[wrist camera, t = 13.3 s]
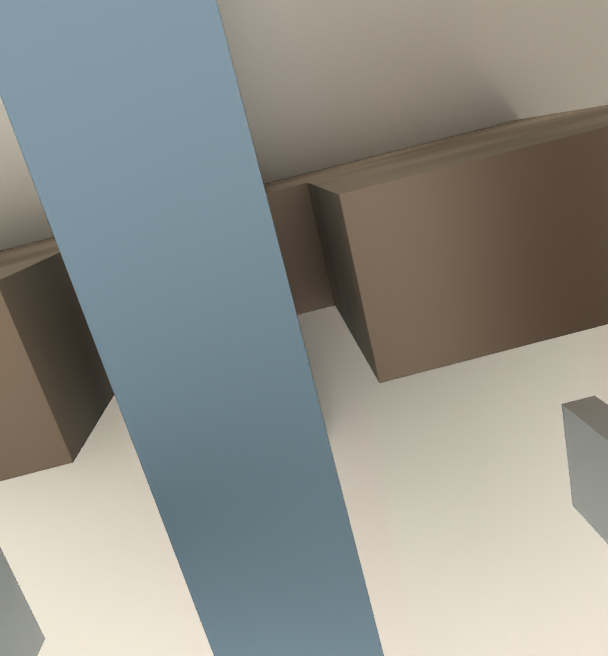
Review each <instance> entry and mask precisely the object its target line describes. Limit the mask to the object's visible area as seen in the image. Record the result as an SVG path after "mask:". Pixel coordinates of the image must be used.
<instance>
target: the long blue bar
mask: <svg viewBox="0 0 608 656" xmlns="http://www.w3.org/2000/svg"><path fill="white" fill-rule="evenodd" d="M0 96H1V98H2V101H3V104H4V106H5V109H6V111H7V114H8V117H9V119H10V122H11V125H12V127H13V130H14V132H15V135H16V138H17V140H18V143H19V146H20V148H21V151H22V153H23V156H24V159H25V161H26V164H27V166H28V169H29V172H30V174H31V177H32V180H33V182H34V185H35V187H36V190H37V193H38V195H39V198H40V201H41V203H42V206H43V208H44V211H45V214H46V216H47V219H48V222H49V224H50V227H51V229H52V232H53V235H54V237H55V240H56V243H57V245H58V248H59V250H60V253H61V256H62V258H63V261H64V264H65V266H66V269H67V271H68V274H69V277H70V279H71V282H72V284H73V287H74V290H75V292H76V295H77V298H78V300H79V303H80V305H81V308H82V311H83V313H84V316H85V319H86V321H87V324H88V326H89V329H90V332H91V334H92V337H93V340H94V342H95V345H96V347H97V350H98V353H99V355H100V358H101V361H102V363H103V366H104V368H105V371H106V374H107V376H108V379H109V381H110V384H111V387H112V389H113V392H114V395H115V397H116V400H117V402H118V405H119V408H120V410H121V413H122V416H123V418H124V421H125V423H126V426H127V429H128V431H129V434H130V437H131V439H132V442H133V444H134V447H135V450H136V452H137V455H138V458H139V460H140V463H141V465H142V468H143V471H144V473H145V476H146V479H147V481H148V484H149V486H150V489H151V492H152V494H153V497H154V499H155V502H156V505H157V507H158V510H159V513H160V515H161V518H162V520H163V523H164V526H165V528H166V531H167V534H168V536H169V539H170V541H171V544H172V547H173V549H174V552H175V555H176V557H177V560H178V562H179V565H180V568H181V570H182V573H183V576H184V578H185V581H186V583H187V586H188V589H189V591H190V594H191V597H192V599H193V602H194V604H195V607H196V610H197V612H198V615H199V617H200V620H201V623H202V625H203V628H204V631H205V633H206V636H207V638H208V641H209V644H210V646H211V649H212V652H213V654H214V656H384V654H383V650H382V646H381V643H380V639H379V635H378V631H377V627H376V623H375V619H374V615H373V611H372V607H371V603H370V600H369V596H368V592H367V588H366V584H365V580H364V576H363V572H362V568H361V564H360V560H359V556H358V553H357V549H356V545H355V541H354V537H353V533H352V529H351V525H350V521H349V517H348V513H347V510H346V506H345V502H344V498H343V494H342V490H341V486H340V482H339V478H338V474H337V470H336V467H335V463H334V459H333V455H332V451H331V447H330V443H329V439H328V435H327V431H326V427H325V424H324V420H323V416H322V412H321V408H320V404H319V400H318V396H317V392H316V388H315V384H314V381H313V377H312V373H311V369H310V365H309V361H308V357H307V353H306V349H305V345H304V341H303V337H302V334H301V330H300V326H299V322H298V318H297V314H296V310H295V306H294V302H293V298H292V294H291V291H290V287H289V283H288V279H287V275H286V271H285V267H284V263H283V259H282V255H281V251H280V248H279V244H278V240H277V236H276V232H275V228H274V224H273V220H272V216H271V212H270V208H269V205H268V201H267V197H266V193H265V189H264V185H263V181H262V177H261V173H260V169H259V165H258V162H257V158H256V154H255V150H254V146H253V142H252V138H251V134H250V130H249V126H248V122H247V118H246V115H245V111H244V107H243V103H242V99H241V95H240V91H239V87H238V83H237V79H236V75H235V72H234V68H233V64H232V60H231V56H230V52H229V48H228V44H227V40H226V36H225V32H224V29H223V25H222V21H221V17H220V13H219V9H218V5H217V1H216V0H0Z"/></svg>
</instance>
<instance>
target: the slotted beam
mask: <svg viewBox="0 0 608 656" xmlns="http://www.w3.org/2000/svg"><path fill="white" fill-rule="evenodd" d="M263 185H264V189H265V193H266V197H267V201H268V205H269V208H270V212H271V216H272V220H273V224H274V228H275V232H276V236H277V240H278V244H279V248H280V251H281V255H282V259H283V263H284V267H285V271H286V275H287V279H288V283H289V287H290V291H291V294H292V298H293V302H294V306H295V310H296V314H297V315H298V314H302V313H306V312H310V311H314V310H317V309H321V308H325V307H329V306H333V305H336V307H337V309H338V311H339V312H340V314H341V316H342V318H343V320H344V321H345V323H346V325H347V327H348V328H349V330H350V332H351V334H352V335H353V337H354V339H355V341H356V342H357V344H358V346H359V348H360V349H361V351H362V353H363V355H364V356H365V358H366V360H367V362H368V364H369V365H370V367H371V369H372V371H373V372H374V374H375V376H376V378H377V379H378V381H379V383H382V382H385V381H389V380H393V379H397V378H401V377H405V376H409V375H412V374H416V373H420V372H424V371H428V370H432V369H436V368H440V367H443V366H447V365H451V364H455V363H459V362H463V361H467V360H470V359H474V358H478V357H482V356H486V355H490V354H494V353H498V352H501V351H505V350H509V349H513V348H517V347H521V346H525V345H528V344H532V343H536V342H540V341H544V340H548V339H552V338H556V337H559V336H563V335H567V334H571V333H575V332H579V331H583V330H586V329H590V328H594V327H598V326H602V325H606V324H608V105H605V106H599V107H593V108H587V109H581V110H575V111H569V112H563V113H557V114H551V115H544V116H538V117H532V118H526V119H520V120H516V121H512V122H508V123H504V124H500V125H496V126H493V127H489V128H485V129H481V130H477V131H473V132H469V133H465V134H461V135H457V136H453V137H449V138H445V139H441V140H437V141H433V142H429V143H425V144H421V145H417V146H414V147H410V148H406V149H402V150H398V151H394V152H390V153H386V154H382V155H378V156H374V157H370V158H366V159H362V160H358V161H354V162H350V163H346V164H342V165H339V166H335V167H331V168H327V169H323V170H319V171H315V172H311V173H307V174H303V175H299V176H295V177H291V178H287V179H283V180H279V181H275V182H271V183H267V184H263ZM113 396H114V392H113V389H112V387H111V384H110V381H109V379H108V376H107V374H106V371H105V368H104V366H103V363H102V361H101V358H100V355H99V353H98V350H97V347H96V345H95V342H94V340H93V337H92V334H91V332H90V329H89V326H88V324H87V321H86V319H85V316H84V313H83V311H82V308H81V305H80V303H79V300H78V298H77V295H76V292H75V290H74V287H73V284H72V282H71V279H70V277H69V274H68V271H67V269H66V266H65V264H64V261H63V258H62V256H61V253H60V250H59V248H58V245H57V243H56V240H55V237H54V238H50V239H46V240H42V241H38V242H34V243H30V244H26V245H23V246H19V247H15V248H11V249H7V250H3V251H0V481H3V480H6V479H10V478H14V477H18V476H22V475H26V474H30V473H34V472H37V471H41V470H45V469H49V468H53V467H57V466H61V465H64V464H68V463H72V462H74V460H75V458H76V457H77V455H78V453H79V452H80V450H81V448H82V447H83V445H84V443H85V442H86V440H87V438H88V437H89V435H90V433H91V432H92V430H93V429H94V427H95V425H96V424H97V422H98V420H99V419H100V417H101V415H102V414H103V412H104V410H105V409H106V407H107V405H108V404H109V402H110V401H111V399H112V397H113Z"/></svg>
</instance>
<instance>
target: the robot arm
mask: <svg viewBox="0 0 608 656" xmlns="http://www.w3.org/2000/svg"><path fill="white" fill-rule="evenodd" d="M562 411H563V421H564V430H565V439H566V448H567V457H568V467H569V476H570V485H571V494H572V503H573V506H574V507H575V508H576V510H577V511H578V512H579V513H580V514H581V515H582V516H583V517H584V518H585V519H586V521H587V522H588V523H589V524H590V525H591V526H592V527H593V528H594V529H595V530H596V531H597V533H598V534H599V535H600V536H601V537H602V538H603V539H604V540H605V541H606V542H607V544H608V405H607V404H606V403H604V402H603V401H601V400H600V399H598V398H597V397H596V396H592V397H588V398H584V399H580V400H576V401H572V402H568V403H564V404H562ZM44 640H45V638H44V636H43V633H42V631H41V629H40V627H39V625H38V623H37V621H36V619H35V617H34V615H33V613H32V611H31V609H30V607H29V605H28V603H27V601H26V599H25V597H24V595H23V593H22V591H21V589H20V587H19V585H18V582H17V580H16V578H15V576H14V574H13V572H12V570H11V568H10V566H9V564H8V562H7V560H6V558H5V556H4V554H3V552H2V550H1V548H0V656H37V655H38V653H39V651H40V649H41V647H42V644H43V642H44Z"/></svg>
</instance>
